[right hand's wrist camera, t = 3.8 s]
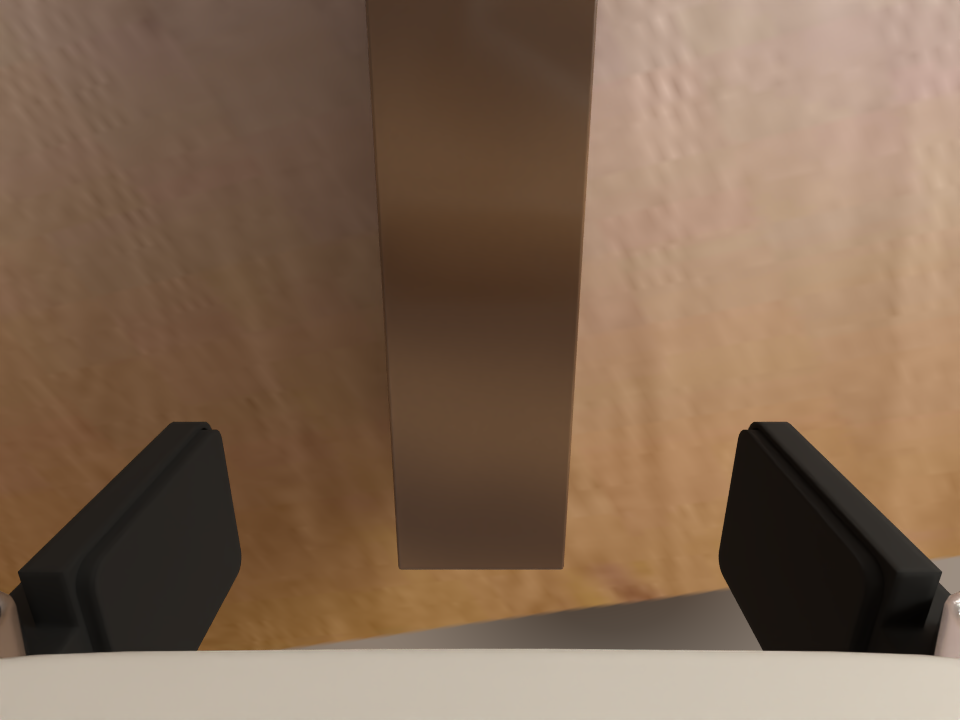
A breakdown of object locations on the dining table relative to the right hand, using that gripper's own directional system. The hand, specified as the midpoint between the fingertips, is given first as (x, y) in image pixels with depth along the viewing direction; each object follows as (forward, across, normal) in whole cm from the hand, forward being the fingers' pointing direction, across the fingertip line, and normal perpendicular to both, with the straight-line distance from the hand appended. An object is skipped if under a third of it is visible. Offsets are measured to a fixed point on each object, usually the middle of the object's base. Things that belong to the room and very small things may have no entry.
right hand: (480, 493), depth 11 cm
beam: (+15, 0, -30) cm, 34 cm away
